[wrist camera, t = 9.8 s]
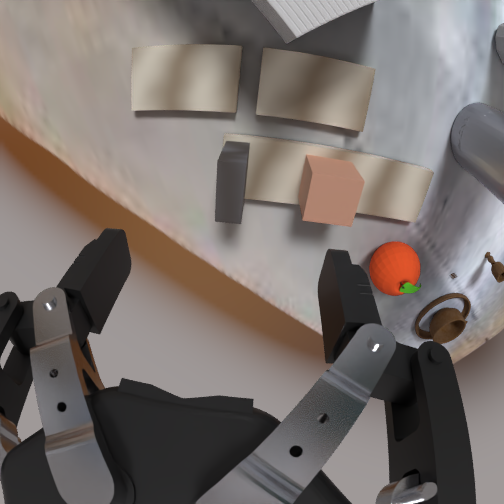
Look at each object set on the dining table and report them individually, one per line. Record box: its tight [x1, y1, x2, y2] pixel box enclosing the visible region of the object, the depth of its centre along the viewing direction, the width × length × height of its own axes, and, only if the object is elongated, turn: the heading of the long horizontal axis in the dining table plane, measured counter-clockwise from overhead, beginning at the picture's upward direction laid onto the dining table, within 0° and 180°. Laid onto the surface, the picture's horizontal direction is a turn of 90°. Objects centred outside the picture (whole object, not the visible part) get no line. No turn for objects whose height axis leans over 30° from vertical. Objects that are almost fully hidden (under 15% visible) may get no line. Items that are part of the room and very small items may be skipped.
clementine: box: [369, 242, 421, 296], centre depth 35 cm, size 8×7×7 cm
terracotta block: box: [298, 154, 365, 227], centre depth 29 cm, size 5×5×5 cm
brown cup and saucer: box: [415, 252, 504, 344], centre depth 42 cm, size 18×20×6 cm
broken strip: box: [131, 44, 375, 132], centre depth 25 cm, size 24×7×1 cm, turn 84°
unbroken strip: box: [215, 133, 434, 224], centre depth 29 cm, size 24×7×7 cm, turn 84°
